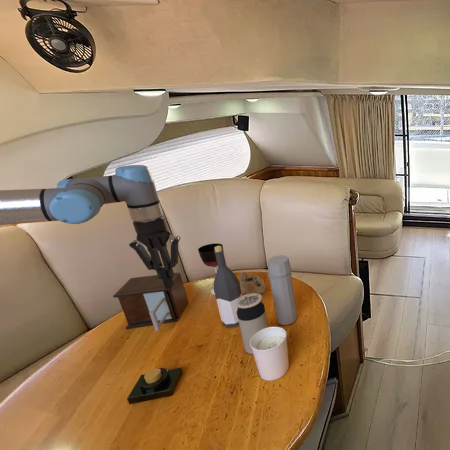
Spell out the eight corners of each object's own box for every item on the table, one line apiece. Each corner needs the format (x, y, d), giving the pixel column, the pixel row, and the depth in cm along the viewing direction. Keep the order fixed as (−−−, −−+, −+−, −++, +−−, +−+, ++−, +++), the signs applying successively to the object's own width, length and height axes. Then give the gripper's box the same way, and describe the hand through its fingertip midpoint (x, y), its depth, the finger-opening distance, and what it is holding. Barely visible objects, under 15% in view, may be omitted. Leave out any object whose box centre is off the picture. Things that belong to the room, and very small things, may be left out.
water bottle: (302, 318, 116) (294, 258, 107) (283, 329, 110) (273, 267, 101) (287, 309, 121) (278, 251, 112) (269, 319, 115) (258, 259, 106)
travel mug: (274, 346, 102) (266, 300, 96) (249, 358, 98) (238, 311, 91) (266, 334, 108) (257, 289, 101) (241, 344, 103) (231, 299, 97)
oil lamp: (256, 303, 124) (253, 286, 121) (230, 295, 130) (226, 278, 127) (277, 289, 134) (274, 273, 131) (251, 282, 139) (248, 266, 136)
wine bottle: (251, 315, 117) (236, 243, 106) (236, 329, 110) (218, 253, 99) (233, 312, 119) (217, 240, 108) (217, 325, 112) (197, 250, 101)
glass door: (140, 339, 104) (129, 310, 99) (153, 320, 113) (143, 292, 109) (163, 335, 105) (153, 306, 101) (175, 317, 115) (166, 289, 110)
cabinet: (126, 329, 110) (112, 295, 105) (141, 309, 121) (130, 278, 115) (177, 321, 114) (167, 288, 109) (188, 302, 125) (179, 272, 120)
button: (143, 385, 84) (141, 380, 83) (149, 374, 87) (147, 369, 87) (158, 382, 85) (157, 377, 84) (164, 371, 88) (162, 367, 88)
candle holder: (254, 386, 88) (246, 353, 84) (259, 360, 97) (252, 329, 92) (290, 379, 90) (285, 346, 86) (292, 354, 99) (287, 324, 95)
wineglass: (211, 286, 136) (201, 244, 128) (233, 283, 138) (224, 242, 131) (206, 296, 129) (195, 253, 121) (230, 293, 131) (220, 250, 124)
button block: (129, 404, 83) (124, 393, 81) (143, 380, 90) (139, 369, 88) (172, 395, 85) (168, 384, 84) (182, 372, 92) (179, 362, 91)
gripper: (178, 212, 97) (196, 277, 106) (128, 216, 94) (151, 283, 103) (168, 220, 91) (188, 289, 99) (115, 224, 87) (140, 296, 96)
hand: (169, 286), depth 101 cm, fingers closed
